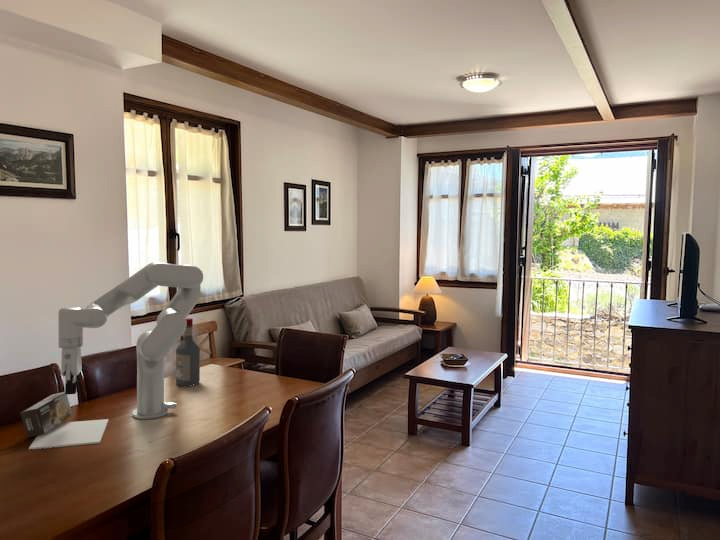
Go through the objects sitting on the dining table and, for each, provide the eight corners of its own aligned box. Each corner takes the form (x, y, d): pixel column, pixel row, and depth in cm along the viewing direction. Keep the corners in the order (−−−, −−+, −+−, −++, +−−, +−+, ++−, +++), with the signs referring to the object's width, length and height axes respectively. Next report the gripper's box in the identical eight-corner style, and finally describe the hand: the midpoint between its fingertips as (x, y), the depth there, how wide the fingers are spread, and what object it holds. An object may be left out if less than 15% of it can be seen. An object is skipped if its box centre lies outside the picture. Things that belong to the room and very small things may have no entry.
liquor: (186, 387, 235) (186, 321, 233) (173, 384, 240) (173, 319, 238) (202, 383, 243) (203, 319, 241) (189, 379, 248) (190, 317, 246)
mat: (108, 420, 191) (108, 419, 191) (99, 443, 170) (99, 441, 170) (45, 425, 184) (45, 423, 184) (28, 449, 163) (28, 447, 163)
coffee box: (49, 395, 188) (18, 411, 172) (66, 391, 188) (37, 407, 172) (56, 419, 189) (26, 437, 173) (73, 415, 188) (44, 433, 172)
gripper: (78, 346, 179) (78, 399, 180) (86, 338, 193) (86, 387, 194) (53, 347, 176) (53, 400, 177) (63, 338, 190) (63, 388, 191)
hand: (70, 393), depth 185 cm, fingers closed
